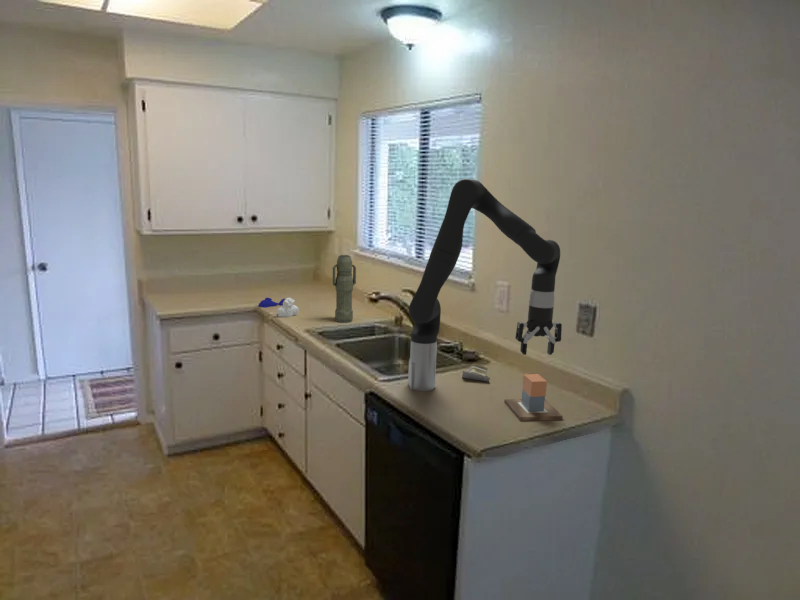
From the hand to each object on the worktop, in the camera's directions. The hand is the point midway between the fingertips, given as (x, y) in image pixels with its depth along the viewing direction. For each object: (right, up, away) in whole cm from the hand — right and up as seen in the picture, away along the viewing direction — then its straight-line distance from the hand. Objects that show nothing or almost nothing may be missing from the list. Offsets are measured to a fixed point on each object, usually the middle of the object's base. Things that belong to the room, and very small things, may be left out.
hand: (536, 354), depth 183 cm
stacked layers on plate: (-16, -13, +32) cm, 38 cm away
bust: (-103, +8, +121) cm, 159 cm away
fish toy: (-116, +12, +140) cm, 182 cm away
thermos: (-72, +5, +112) cm, 133 cm away
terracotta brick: (0, -13, +3) cm, 13 cm away
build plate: (-1, -19, +4) cm, 19 cm away
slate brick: (-1, -18, +4) cm, 18 cm away
